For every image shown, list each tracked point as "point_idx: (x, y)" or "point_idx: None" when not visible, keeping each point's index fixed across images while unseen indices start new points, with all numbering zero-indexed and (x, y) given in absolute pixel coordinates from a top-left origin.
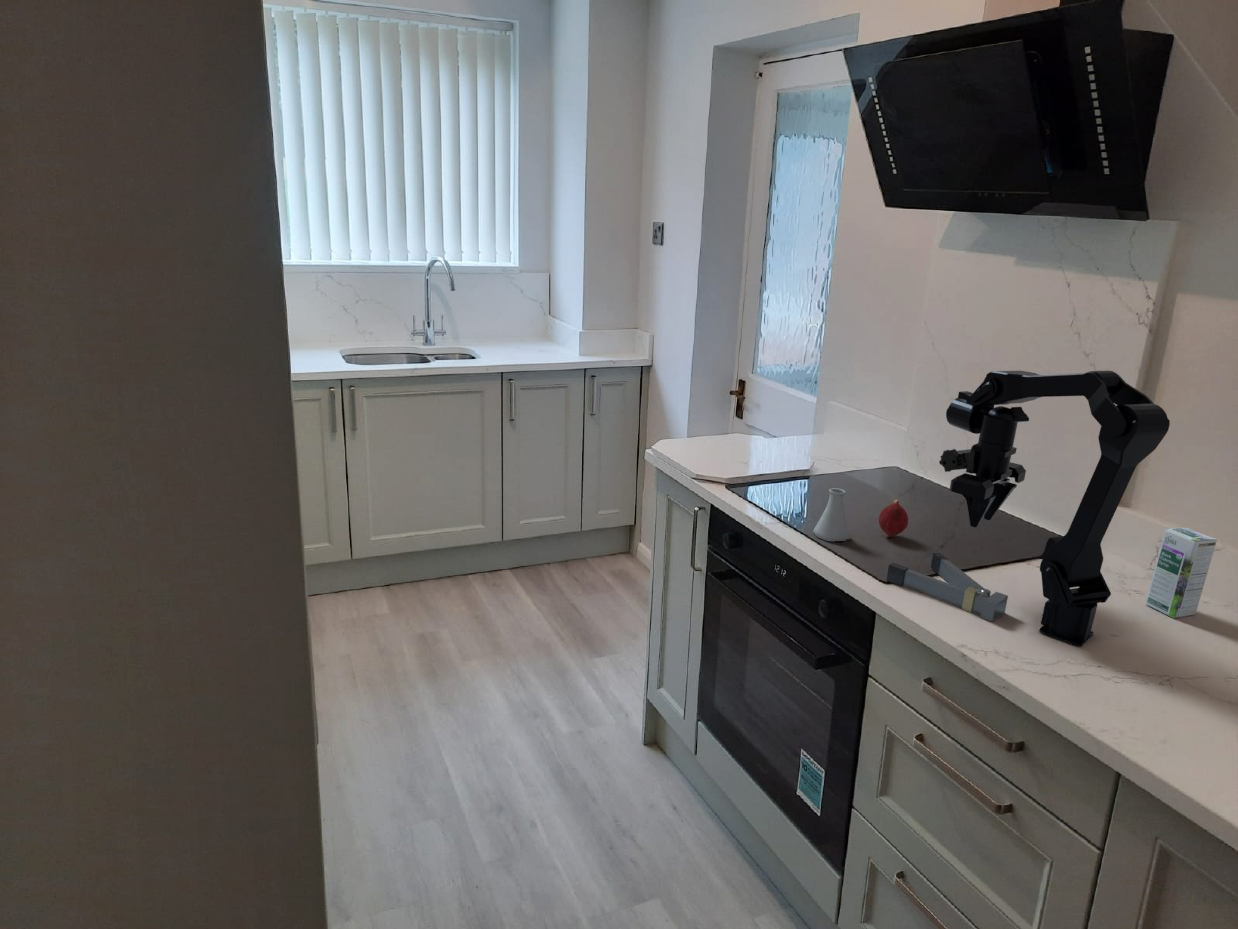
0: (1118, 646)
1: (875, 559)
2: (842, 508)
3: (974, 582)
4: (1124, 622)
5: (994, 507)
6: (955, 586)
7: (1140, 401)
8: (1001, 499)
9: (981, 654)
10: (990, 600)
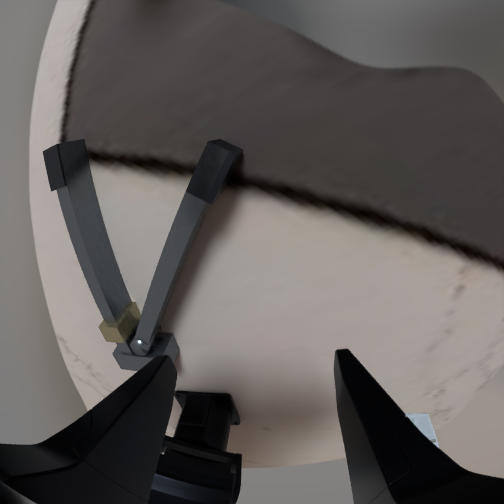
0: (241, 434)
1: (140, 34)
2: None
3: (150, 319)
4: (320, 425)
5: (345, 439)
6: (103, 299)
7: None
8: (355, 494)
9: (71, 357)
10: (122, 361)
